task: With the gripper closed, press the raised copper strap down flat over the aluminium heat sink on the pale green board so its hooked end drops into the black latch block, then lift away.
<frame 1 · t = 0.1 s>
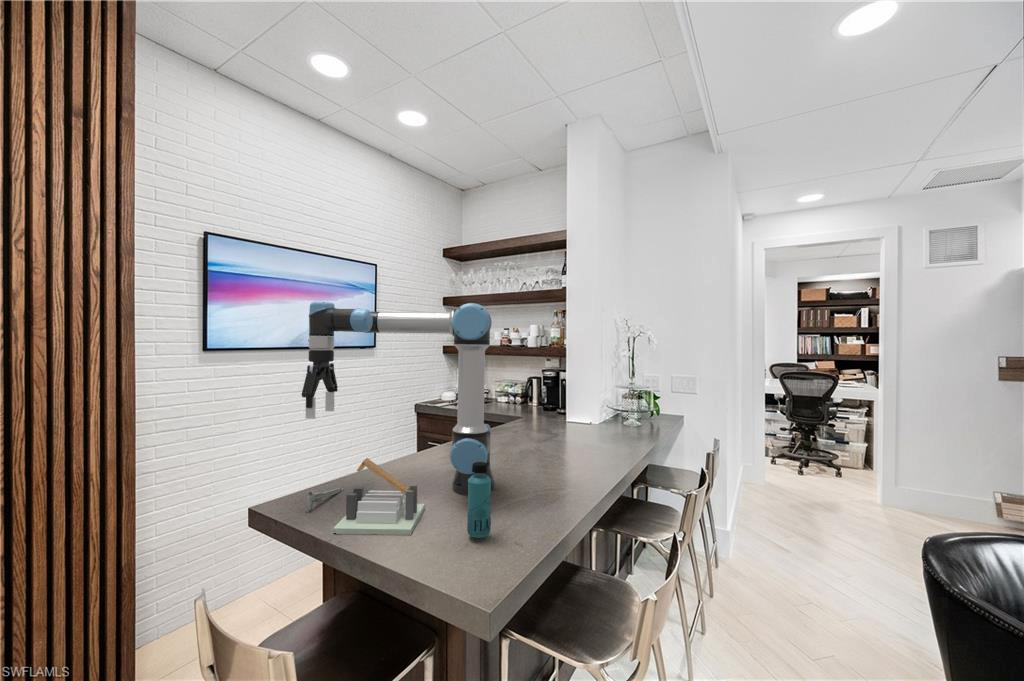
hand: (320, 414, 138), 28 cm above the countertop, tool pointing down, fingers open, 13 cm apart
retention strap: (386, 481, 124), point 11 cm above the countertop, hinge at -35.0°
caliper: (326, 501, 138), on the countertop
beverage bottle: (478, 538, 113), on the countertop
processor board: (382, 520, 124), on the countertop
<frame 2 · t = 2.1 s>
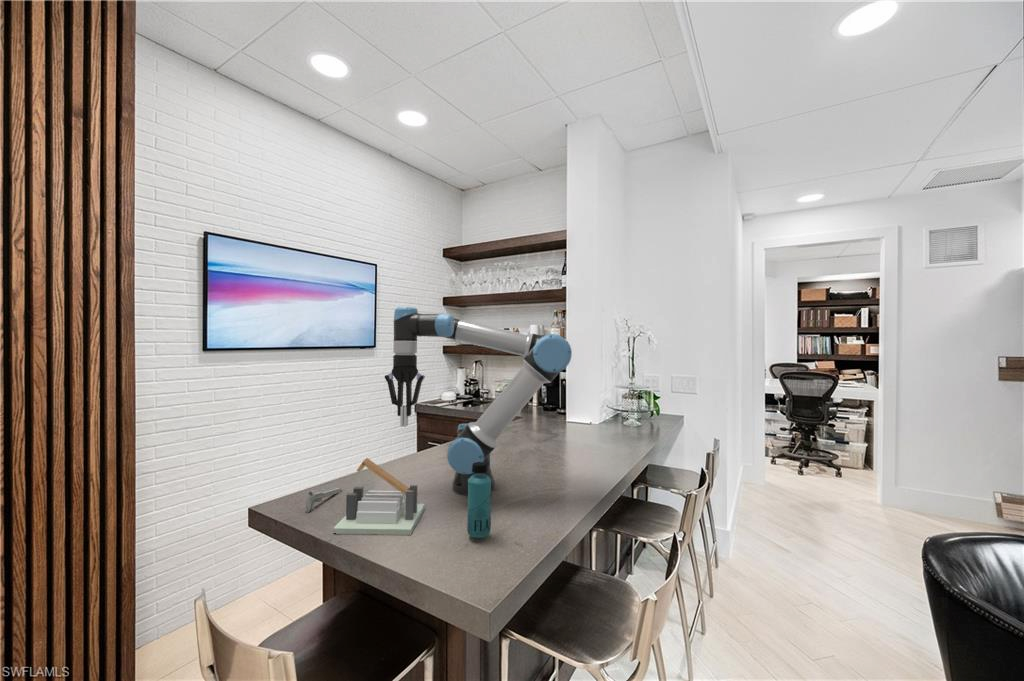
hand: (404, 425, 140), 24 cm above the countertop, tool pointing down, fingers closed
nothing on the countertop moved.
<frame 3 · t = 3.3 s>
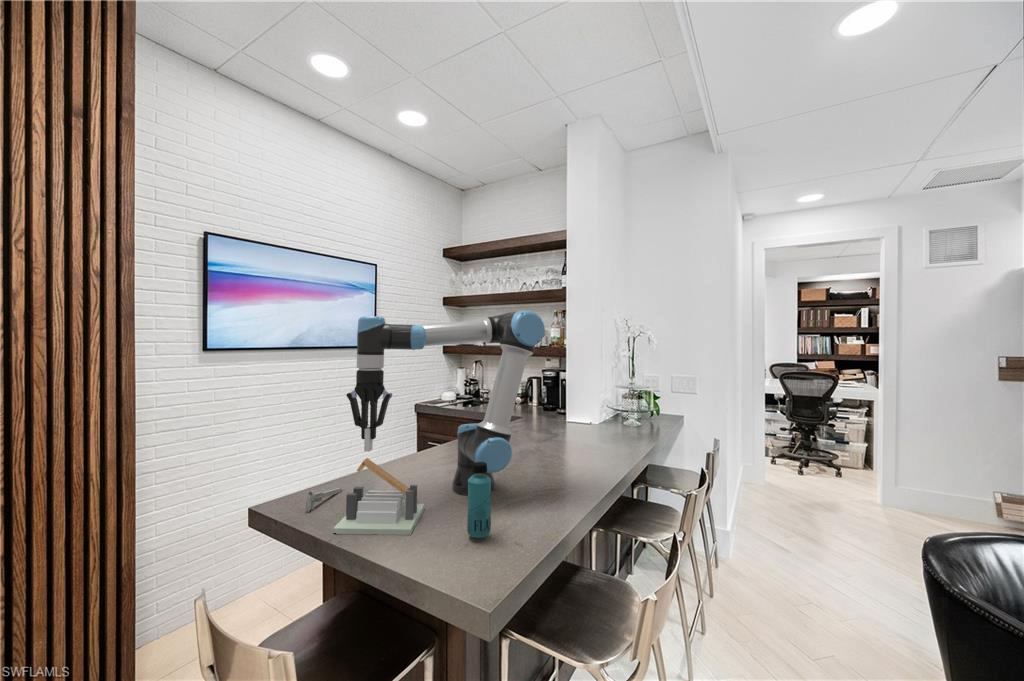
hand: (368, 450, 124), 20 cm above the countertop, tool pointing down, fingers closed
nothing on the countertop moved.
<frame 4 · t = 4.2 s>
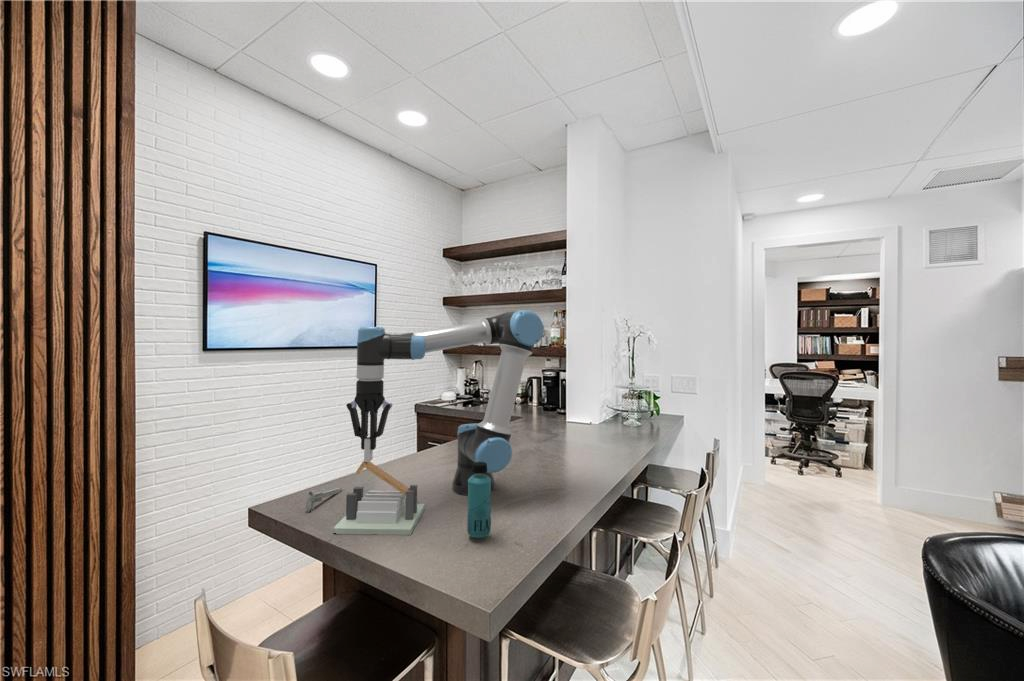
hand: (368, 460, 124), 17 cm above the countertop, tool pointing down, fingers closed
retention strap: (386, 482, 124), point 11 cm above the countertop, hinge at -33.5°, touching gripper
everything else where it was.
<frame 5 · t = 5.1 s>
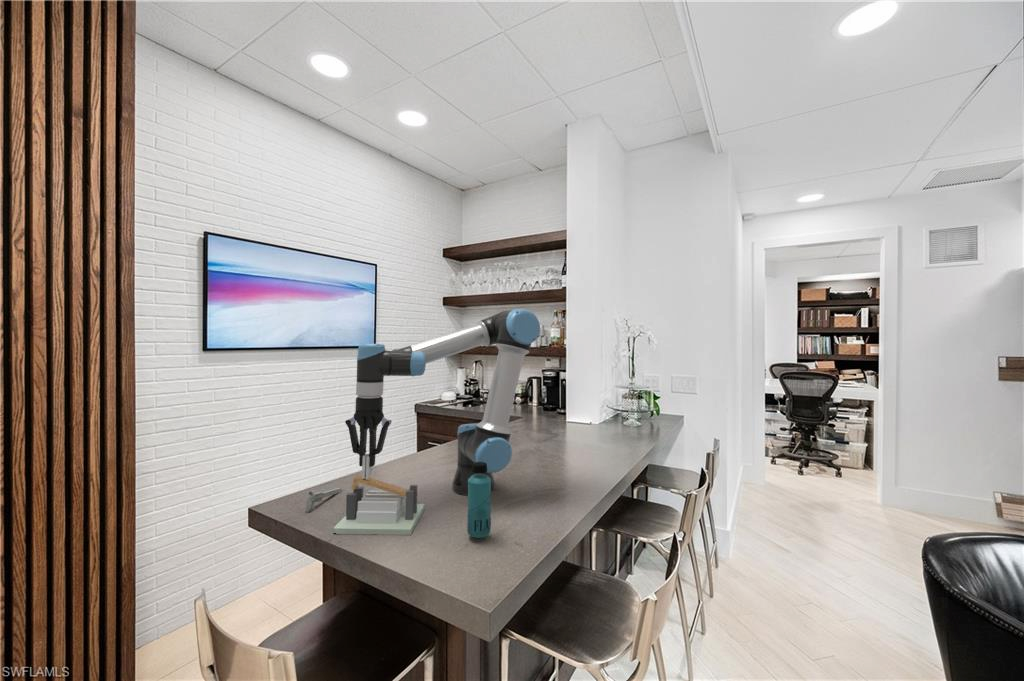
hand: (366, 477, 123), 13 cm above the countertop, tool pointing down, fingers closed
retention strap: (383, 490, 124), point 9 cm above the countertop, hinge at -16.5°, touching gripper
everything else where it was.
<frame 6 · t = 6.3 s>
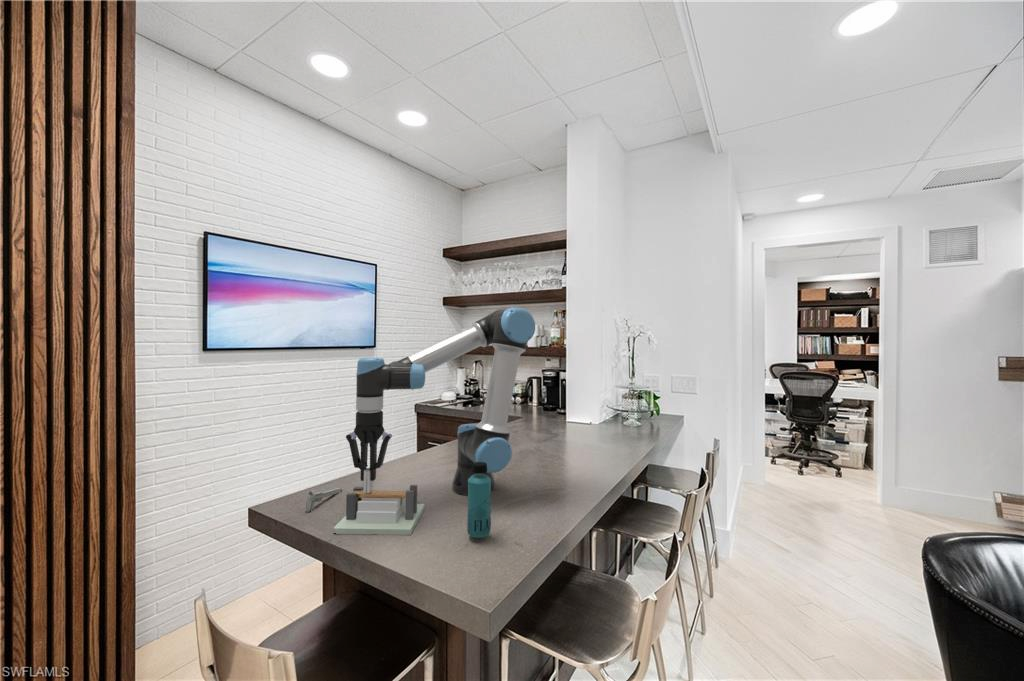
hand: (367, 491, 124), 8 cm above the countertop, tool pointing down, fingers closed
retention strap: (383, 498, 124), point 6 cm above the countertop, hinge at -0.1°, touching gripper
everything else where it was.
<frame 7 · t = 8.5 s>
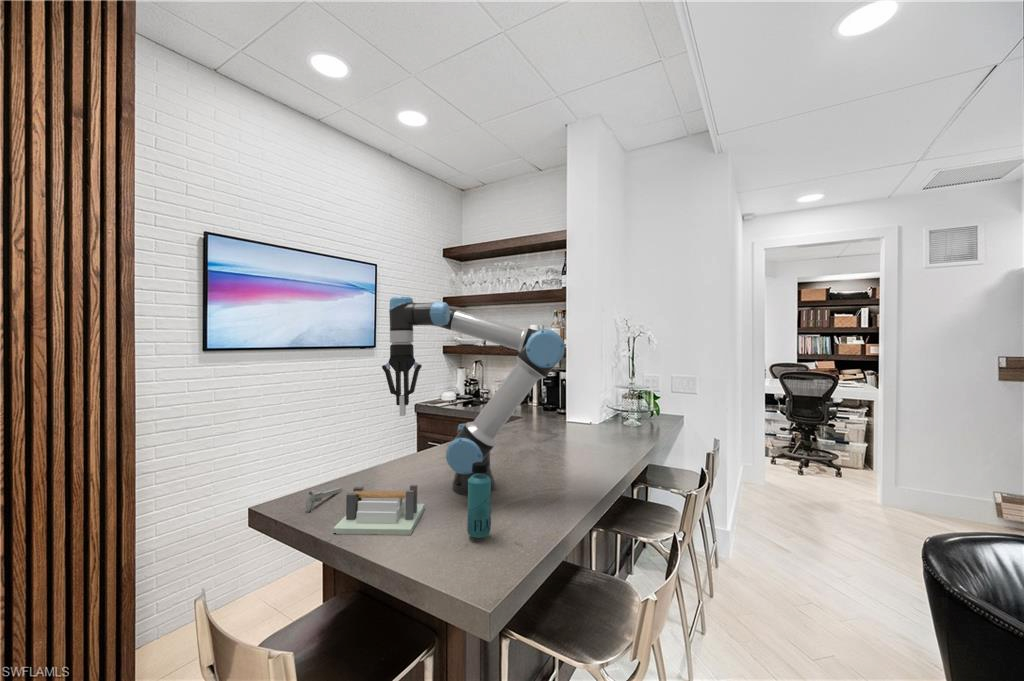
hand: (402, 415, 140), 28 cm above the countertop, tool pointing down, fingers closed
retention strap: (383, 498, 124), point 6 cm above the countertop, hinge at 0.0°
everything else where it was.
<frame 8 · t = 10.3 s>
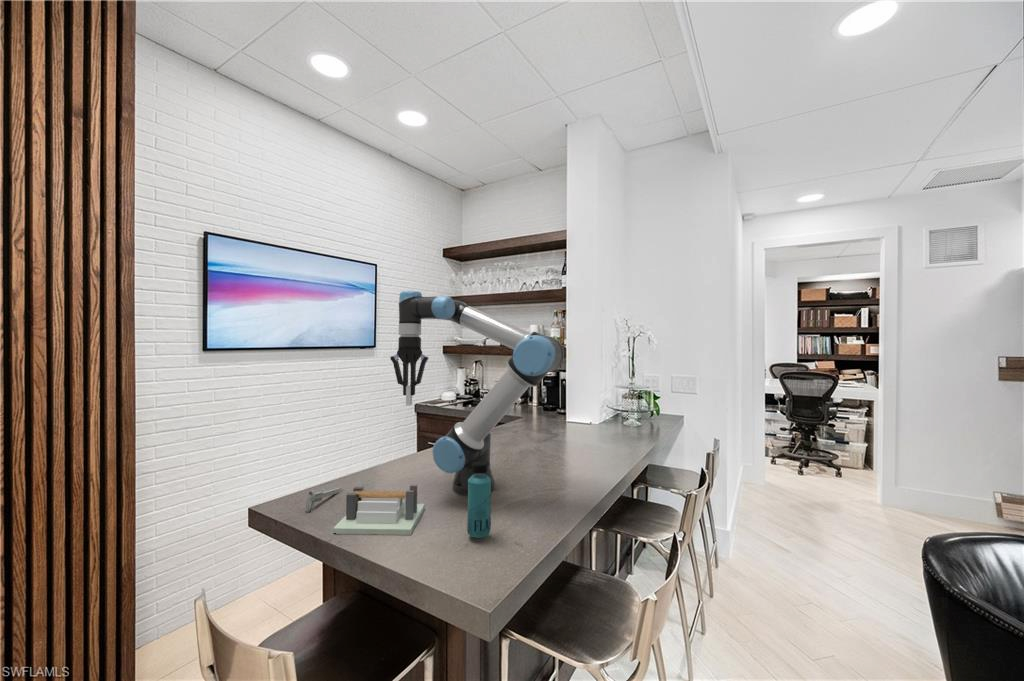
hand: (408, 404, 146), 30 cm above the countertop, tool pointing down, fingers closed
nothing on the countertop moved.
at the end: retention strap at +0° (first picture: -35°) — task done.
